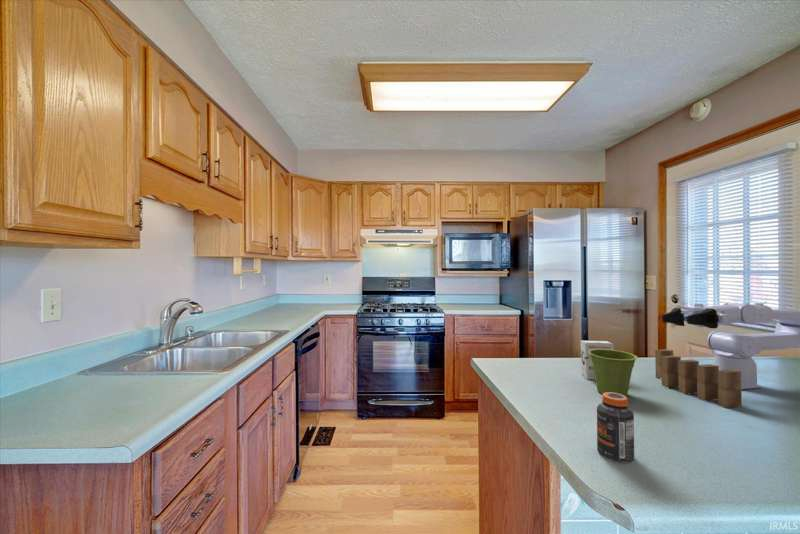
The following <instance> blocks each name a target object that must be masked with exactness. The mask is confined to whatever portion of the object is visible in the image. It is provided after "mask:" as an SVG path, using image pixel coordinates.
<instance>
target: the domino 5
mask: <svg viewBox="0 0 800 534" xmlns="http://www.w3.org/2000/svg"><path fill="white" fill-rule="evenodd" d="M717 401H718V404H717V405H719V407H721V406H722V407H721V408H724V407H725V409H732V408H731V407H734V408H741V407H742V404H743V401H742V389H741V371H738V370H734V369H730V370H718V399H717Z"/></svg>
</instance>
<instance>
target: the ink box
mask: <svg viewBox="0 0 800 534" xmlns="http://www.w3.org/2000/svg"><path fill="white" fill-rule="evenodd" d="M614 345H615V344H614V343H612V342H610V341H608V340H582V339H580V372H581V376H582V377H584V378H585V379H586V380H595V381H596V379H595V374H594V368H593V362H592V361H591V356H590V354H589V353H588V351H589V350H593V349H608V350H615V346H614Z"/></svg>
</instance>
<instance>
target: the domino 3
mask: <svg viewBox="0 0 800 534" xmlns="http://www.w3.org/2000/svg"><path fill="white" fill-rule="evenodd" d="M697 365H700V361H699V360H695V359H683V360H682V359H681V360H679V361H678V379H679V387H678V393H680V392H682V393H681V394H683V393H684V394H683V395H689V394H688V393H692V394H697Z"/></svg>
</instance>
